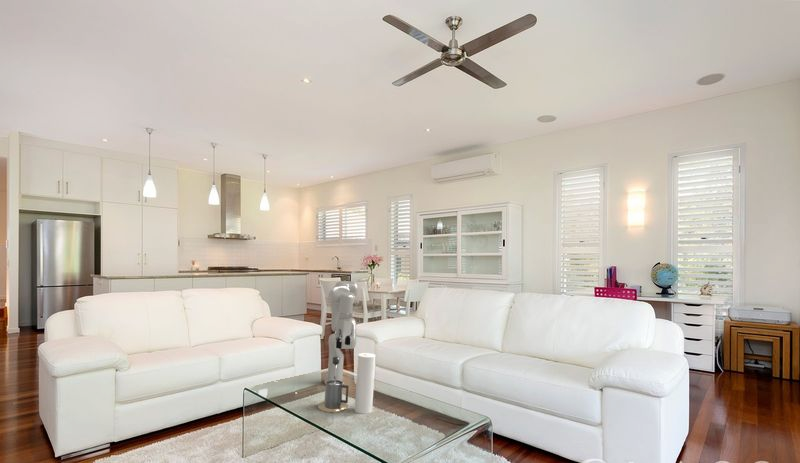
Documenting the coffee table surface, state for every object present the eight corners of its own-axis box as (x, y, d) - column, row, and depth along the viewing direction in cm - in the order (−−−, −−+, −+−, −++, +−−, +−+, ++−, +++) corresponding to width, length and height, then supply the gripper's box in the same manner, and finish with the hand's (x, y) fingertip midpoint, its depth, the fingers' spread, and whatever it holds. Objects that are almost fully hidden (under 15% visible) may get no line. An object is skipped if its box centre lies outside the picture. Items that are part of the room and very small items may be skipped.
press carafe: (323, 400, 238) (324, 376, 239) (350, 403, 236) (352, 379, 237) (313, 410, 222) (315, 385, 223) (343, 413, 220) (344, 388, 221)
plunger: (330, 382, 233) (332, 355, 234) (341, 384, 233) (343, 356, 233) (326, 386, 227) (328, 358, 228) (338, 387, 226) (340, 359, 227)
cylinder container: (369, 414, 222) (373, 357, 223) (352, 412, 223) (356, 355, 225) (373, 408, 231) (377, 353, 232) (357, 406, 233) (361, 351, 234)
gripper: (347, 313, 247) (344, 342, 246) (331, 317, 231) (329, 348, 230) (358, 314, 244) (356, 344, 243) (343, 319, 228) (341, 350, 227)
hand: (343, 346), depth 237 cm, fingers open, 9 cm apart
